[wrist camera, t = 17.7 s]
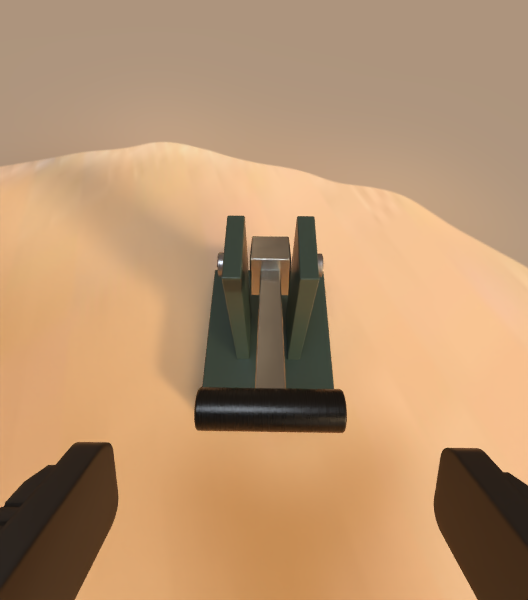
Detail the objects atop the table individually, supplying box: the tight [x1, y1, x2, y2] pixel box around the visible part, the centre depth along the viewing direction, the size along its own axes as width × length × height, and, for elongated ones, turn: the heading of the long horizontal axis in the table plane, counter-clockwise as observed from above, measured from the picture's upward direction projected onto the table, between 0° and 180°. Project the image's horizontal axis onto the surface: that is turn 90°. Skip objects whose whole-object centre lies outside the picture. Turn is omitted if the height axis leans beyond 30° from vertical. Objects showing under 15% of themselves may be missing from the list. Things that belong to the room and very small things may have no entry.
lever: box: [194, 236, 347, 433], centre depth 16 cm, size 12×5×2 cm, turn 0°
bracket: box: [202, 216, 334, 389], centre depth 24 cm, size 13×10×13 cm
